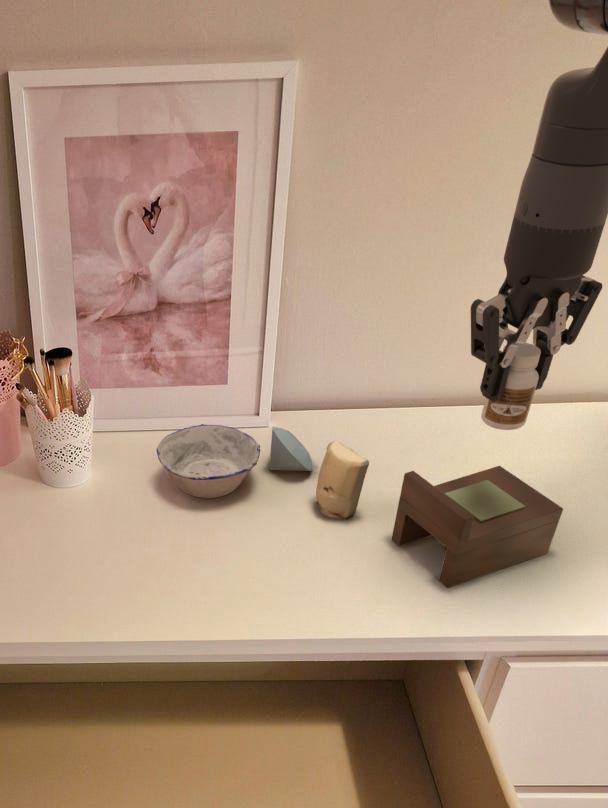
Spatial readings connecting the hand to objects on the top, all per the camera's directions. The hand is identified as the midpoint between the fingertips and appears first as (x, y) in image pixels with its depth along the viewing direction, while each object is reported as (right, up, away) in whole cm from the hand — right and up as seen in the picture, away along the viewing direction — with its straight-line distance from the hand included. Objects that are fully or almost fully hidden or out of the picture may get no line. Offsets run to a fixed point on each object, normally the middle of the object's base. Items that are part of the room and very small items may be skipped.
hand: (511, 391), depth 88 cm
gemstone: (-18, -3, +26) cm, 32 cm away
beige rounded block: (-13, -9, +18) cm, 25 cm away
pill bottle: (0, -3, +2) cm, 4 cm away
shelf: (0, -14, +12) cm, 19 cm away
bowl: (-28, -5, +24) cm, 38 cm away
